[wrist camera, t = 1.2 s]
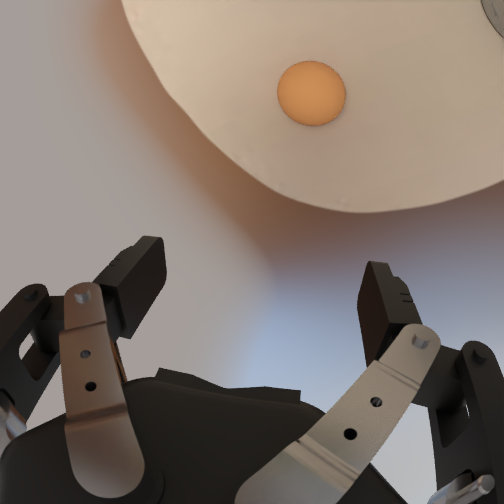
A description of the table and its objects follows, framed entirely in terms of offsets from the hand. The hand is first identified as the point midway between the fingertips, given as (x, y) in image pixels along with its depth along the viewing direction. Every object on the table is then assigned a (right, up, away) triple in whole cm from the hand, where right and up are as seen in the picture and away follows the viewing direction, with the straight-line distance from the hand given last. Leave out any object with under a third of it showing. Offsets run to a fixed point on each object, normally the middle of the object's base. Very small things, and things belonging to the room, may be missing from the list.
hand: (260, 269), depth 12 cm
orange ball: (+5, +14, +13) cm, 20 cm away
